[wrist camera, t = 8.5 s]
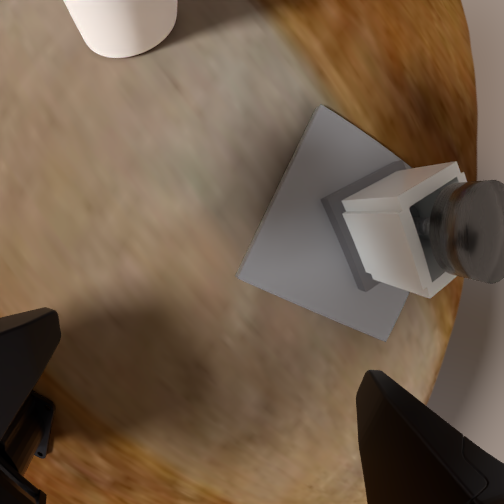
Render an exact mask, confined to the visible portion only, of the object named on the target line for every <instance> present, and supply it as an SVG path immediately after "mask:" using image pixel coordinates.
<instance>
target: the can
mask: <svg viewBox="0 0 504 504" xmlns="http://www.w3.org/2000/svg"><path fill="white" fill-rule="evenodd" d="M64 2H65V4H66V6H67V8H68V10H69V12H70V14H71V16H72V18H73V20H74V22H75V24H76V26H77V28H78V30H79V32H80V33H81V35H82V37H83V39H84V41H85V42H86V44H87V45H88V47H89V48H90V49H91V50H92V51H94V52H95V53H97V54H99V55H102V56H105V57H110V58H124V57H130V56H134V55H138V54H141V53H143V52H146V51H148V50H150V49H151V48H153V47H155V46H156V45H158V44H159V43H160V42H162V41H163V40H164V39H165V38H166V37H167V36H168V34H169V33H170V32H171V30H172V29H173V27H174V25H175V22H176V17H177V0H64Z"/></svg>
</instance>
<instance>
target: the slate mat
mask: <svg viewBox="0 0 504 504" xmlns="http://www.w3.org/2000/svg"><path fill="white" fill-rule="evenodd" d="M399 160H401V159H400V158H399V157H397V156H396V155H395V154H393V153H392V152H391V151H389V150H388V149H387V148H385V147H384V146H382V145H381V144H380V143H378V142H377V141H376V140H374V139H373V138H371V137H370V136H369V135H367V134H366V133H364V132H363V131H361V130H360V129H358V128H357V127H355V126H354V125H353V124H351V123H350V122H348V121H347V120H345V119H343V118H342V117H340V116H339V115H337V114H336V113H334V112H333V111H331V110H329V109H328V108H326V107H325V106H323V105H321V104H320V105H319V106H318V107H316V109H315V111H314V113H313V115H312V117H311V119H310V121H309V123H308V125H307V127H306V130H305V132H304V134H303V136H302V138H301V140H300V142H299V144H298V146H297V148H296V150H295V152H294V154H293V156H292V159H291V161H290V163H289V165H288V167H287V169H286V171H285V173H284V175H283V177H282V179H281V181H280V183H279V186H278V188H277V190H276V192H275V194H274V196H273V198H272V200H271V202H270V204H269V206H268V208H267V211H266V213H265V215H264V217H263V219H262V221H261V223H260V225H259V227H258V229H257V231H256V234H255V236H254V238H253V240H252V242H251V244H250V246H249V248H248V250H247V252H246V254H245V257H244V259H243V261H242V263H241V265H240V267H239V269H238V271H237V273H236V275H235V276H236V277H237V278H238V279H240V280H242V281H244V282H247V283H249V284H251V285H253V286H256V287H258V288H260V289H262V290H265V291H267V292H269V293H271V294H274V295H276V296H278V297H281V298H283V299H285V300H287V301H290V302H292V303H294V304H297V305H299V306H301V307H304V308H306V309H308V310H311V311H313V312H315V313H318V314H320V315H322V316H325V317H327V318H329V319H332V320H334V321H336V322H339V323H341V324H344V325H346V326H348V327H351V328H353V329H355V330H358V331H360V332H363V333H365V334H368V335H370V336H372V337H375V338H377V339H380V340H382V341H385V342H386V341H387V339H388V337H389V335H390V333H391V331H392V329H393V327H394V325H395V323H396V321H397V319H398V316H399V314H400V312H401V310H402V308H403V306H404V304H405V301H406V299H407V297H408V295H409V291H406V290H403V289H400V288H397V287H394V286H391V285H388V284H385V283H383V282H381V283H379V284H378V285H376V286H375V287H373V288H372V289H370V290H369V291H367V292H364V291H362V290H359V289H358V287H357V285H356V282H355V280H354V277H353V275H352V272H351V270H350V267H349V265H348V262H347V260H346V257H345V255H344V253H343V250H342V248H341V246H340V243H339V241H338V238H337V236H336V234H335V231H334V229H333V227H332V225H331V222H330V220H329V218H328V215H327V213H326V211H325V209H324V207H323V204H322V202H321V200H320V199H322V198H324V197H326V196H328V195H330V194H332V193H333V192H335V191H337V190H339V189H341V188H343V187H345V186H347V185H349V184H351V183H353V182H355V181H357V180H359V179H361V178H363V177H365V176H367V175H369V174H371V173H373V172H374V171H376V170H378V169H380V168H382V167H384V166H386V165H388V164H390V163H392V162H395V161H399ZM403 163H404V165H405V167H406V169H412V168H411V167H410V166H409V165H408V164H406V163H405V162H404V161H403Z"/></svg>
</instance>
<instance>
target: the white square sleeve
mask: <svg viewBox="0 0 504 504" xmlns="http://www.w3.org/2000/svg"><path fill="white" fill-rule="evenodd" d="M459 182H467V180H466V177H465V174H464V172H460V169H459V167H458V164H457V161H455V162H449V163H442V164H436V165H430V166H423V167H417V168H412V169H406V167H405V165H404V163H403V160H399V161H395V162H392V163H390V164H388V165H386V166H384V167H382V168H380V169H378V170H376V171H374V172H373V173H371V174H369V175H367V176H365V177H363V178H361V179H359V180H357V181H355V182H353V183H351V184H349V185H347V186H345V187H343V188H341V189H339V190H337V191H335V192H333V193H332V194H330V195H328V196H326V197H324V198H322V199H320V200H321V202H322V204H323V207H324V209H325V211H326V213H327V215H328V218H329V220H330V222H331V225H332V227H333V229H334V231H335V234H336V236H337V238H338V241H339V243H340V246H341V248H342V250H343V253H344V255H345V257H346V260H347V262H348V265H349V267H350V270H351V272H352V275H353V277H354V280H355V282H356V285H357V287H358V289H359V290H362V291H364V292H367V291H369V290H370V289H372V288H373V287H375V286H376V285H378V284H379V283H381V282H383V283H385V284H388V285H391V286H394V287H397V288H400V289H403V290H406V291H409V292H412V293H415V294H418V295H421V296H423V297H426V298H429V299H430V298H431V297H433V296H434V295H435V294H436V293H438V292H439V291H440V290H441V289H442V288H444V287H445V286H446V285H447V284H448V283H449V282H451V281H452V280H453V279H454V278H455V277H456V275H452V274H449V273H447V272H445V271H444V270H443V269H442V268H441V267H440V266H439V265H438V263H437V261H436V259H435V257H434V255H433V252H432V248H431V244H430V236H423V235H419V236H418V233H417V230H416V227H415V224H414V221H413V218H412V216H411V213H410V210H409V207H410V206H412V205H414V206H415V207H416V208H417V210H418V212H419V215H420V217H430V216H431V211H432V208H433V205H434V202H435V200H436V198H437V196H438V195H439V193H440V192H441V191H442V189H443V188H445V187H446V186H447V185H449V184H452V183H459Z"/></svg>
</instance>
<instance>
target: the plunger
mask: <svg viewBox="0 0 504 504" xmlns="http://www.w3.org/2000/svg"><path fill="white" fill-rule="evenodd" d="M409 210H410V213H411V216H412V218H413V221H414V224H415V227H416V230H417V233H418V236H419V235H423V236H430V244H431V248H432V252H433V255H434V257H435V259H436V261H437V263H438V265H439V266H440V267H441V268H442V269H443V270H444V271H445V272H447V273H449V274H452V275H456V276H460V277H464V278H468V279H473V280H477V281H481V282H485V283H490V284H493V283H496V282H498V281H500V280H501V279H503V278H504V184H503V183H501V182H499V181H496V180H490V181H473V182H459V183H452V184H449V185H447V186H446V187H445V188H443V189H442V191H441V192H440V193H439V195H438V196H437V198H436V200H435V202H434V205H433V208H432V211H431V216H430V217H420V215H419V212H418V210H417V208H416V207H415V206H414V205H412V206H410V207H409Z"/></svg>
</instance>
